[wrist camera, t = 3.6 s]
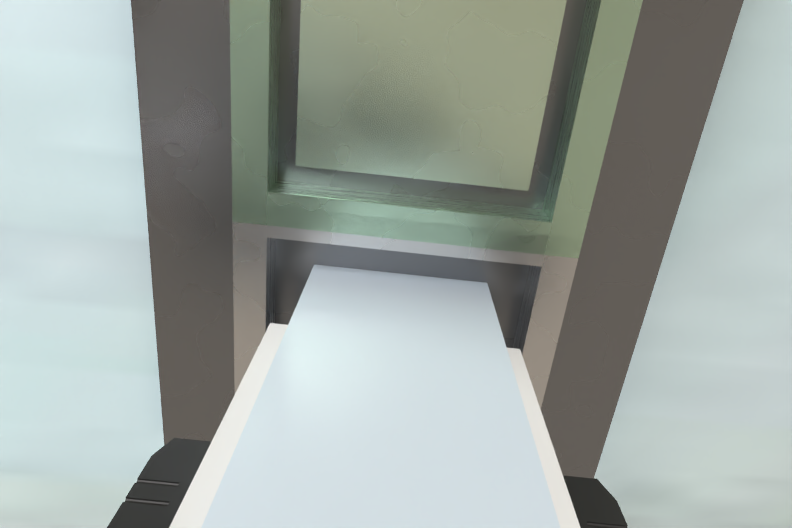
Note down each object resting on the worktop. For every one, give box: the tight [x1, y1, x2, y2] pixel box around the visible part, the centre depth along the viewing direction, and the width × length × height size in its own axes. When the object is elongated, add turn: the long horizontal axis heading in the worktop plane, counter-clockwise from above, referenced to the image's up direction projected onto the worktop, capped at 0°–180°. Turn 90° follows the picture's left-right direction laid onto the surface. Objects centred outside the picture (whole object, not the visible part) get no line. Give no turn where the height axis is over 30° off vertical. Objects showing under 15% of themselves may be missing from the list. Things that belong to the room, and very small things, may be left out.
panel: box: [131, 0, 743, 478], centre depth 13 cm, size 13×16×2 cm
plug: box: [201, 265, 560, 528], centre depth 10 cm, size 4×4×12 cm
